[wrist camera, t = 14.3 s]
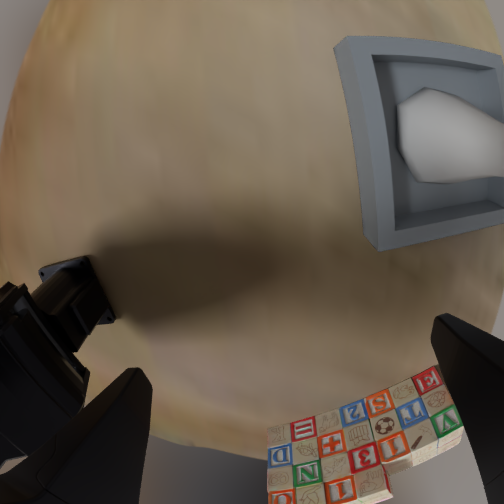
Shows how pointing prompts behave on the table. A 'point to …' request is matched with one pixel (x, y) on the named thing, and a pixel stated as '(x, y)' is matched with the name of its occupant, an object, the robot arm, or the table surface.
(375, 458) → the stack of blocks
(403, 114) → the light grey vase
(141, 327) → the table surface
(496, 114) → the tray
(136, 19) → the table surface
